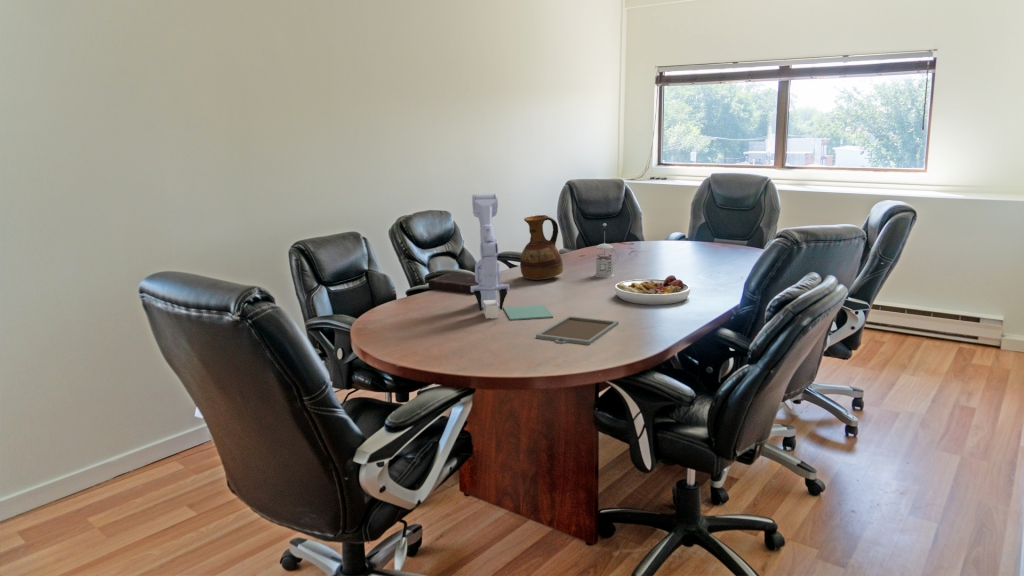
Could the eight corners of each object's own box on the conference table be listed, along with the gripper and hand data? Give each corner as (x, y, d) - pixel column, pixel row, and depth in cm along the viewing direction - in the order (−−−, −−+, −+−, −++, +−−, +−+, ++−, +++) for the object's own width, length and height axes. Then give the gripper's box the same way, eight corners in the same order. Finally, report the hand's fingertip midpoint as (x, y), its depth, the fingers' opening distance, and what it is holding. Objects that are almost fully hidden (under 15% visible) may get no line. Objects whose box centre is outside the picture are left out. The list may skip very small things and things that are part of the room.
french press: (590, 274, 330) (590, 222, 325) (612, 272, 334) (613, 221, 328) (599, 278, 321) (599, 225, 316) (621, 276, 324) (622, 223, 319)
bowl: (657, 311, 260) (658, 290, 259) (599, 298, 283) (599, 279, 281) (704, 298, 279) (705, 279, 277) (646, 287, 302) (647, 269, 300)
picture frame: (618, 321, 242) (586, 343, 217) (618, 325, 243) (586, 348, 217) (568, 315, 251) (532, 336, 226) (569, 319, 252) (532, 341, 226)
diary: (474, 296, 293) (474, 285, 292) (428, 290, 306) (427, 279, 305) (498, 287, 309) (497, 276, 308) (453, 282, 322) (452, 271, 321)
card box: (483, 313, 262) (483, 300, 261) (495, 312, 263) (495, 299, 262) (486, 319, 254) (486, 306, 253) (498, 318, 254) (498, 305, 253)
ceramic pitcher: (513, 276, 328) (512, 214, 322) (550, 272, 337) (550, 211, 330) (532, 284, 311) (531, 218, 305) (570, 279, 319) (570, 215, 313)
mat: (503, 308, 268) (503, 307, 268) (543, 306, 270) (543, 304, 270) (510, 320, 251) (510, 318, 250) (553, 317, 253) (553, 316, 253)
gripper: (471, 277, 250) (472, 313, 253) (510, 275, 252) (511, 310, 255) (469, 273, 257) (470, 308, 260) (507, 271, 259) (508, 306, 262)
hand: (490, 309), depth 258 cm, fingers open, 7 cm apart
